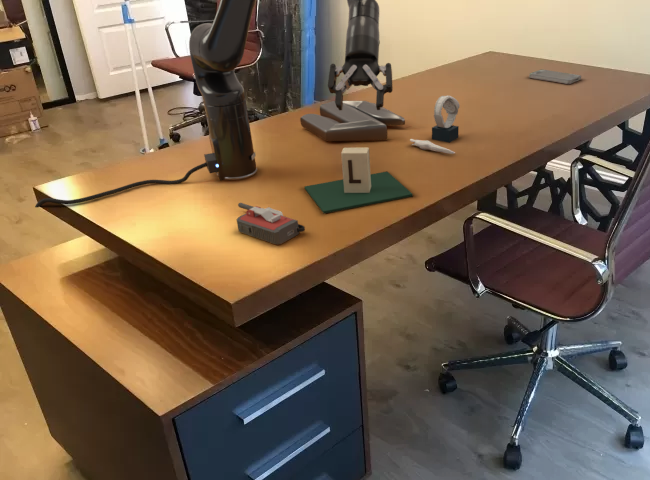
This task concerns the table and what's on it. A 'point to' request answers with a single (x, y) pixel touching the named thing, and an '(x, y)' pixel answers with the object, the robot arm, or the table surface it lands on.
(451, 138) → the watch
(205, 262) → the table surface
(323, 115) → the emblem
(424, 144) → the white pointed spike
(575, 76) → the phone case
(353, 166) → the cream letter block
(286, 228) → the walkie-talkie
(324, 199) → the desk pad
